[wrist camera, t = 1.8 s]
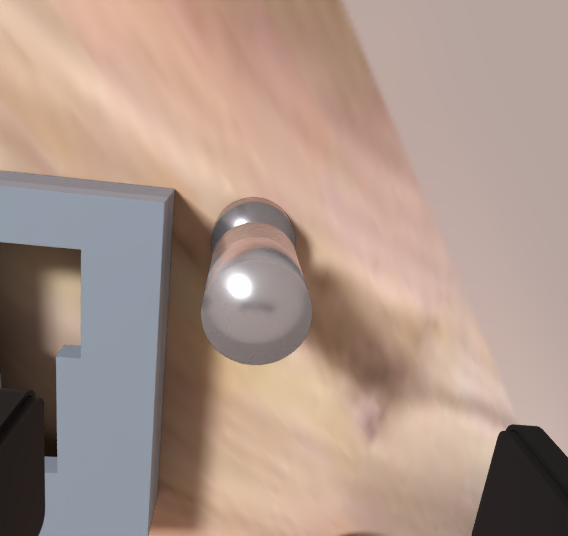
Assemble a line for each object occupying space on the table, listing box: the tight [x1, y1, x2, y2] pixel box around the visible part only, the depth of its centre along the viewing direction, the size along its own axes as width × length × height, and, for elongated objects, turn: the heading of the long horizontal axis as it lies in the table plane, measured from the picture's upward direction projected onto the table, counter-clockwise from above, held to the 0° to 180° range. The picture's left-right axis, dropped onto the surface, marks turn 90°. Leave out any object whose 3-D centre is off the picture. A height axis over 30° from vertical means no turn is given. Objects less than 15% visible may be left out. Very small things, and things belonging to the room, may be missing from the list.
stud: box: [201, 197, 312, 365], centre depth 22 cm, size 4×4×10 cm
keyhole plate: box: [0, 171, 175, 536], centre depth 26 cm, size 18×12×3 cm, turn 173°
